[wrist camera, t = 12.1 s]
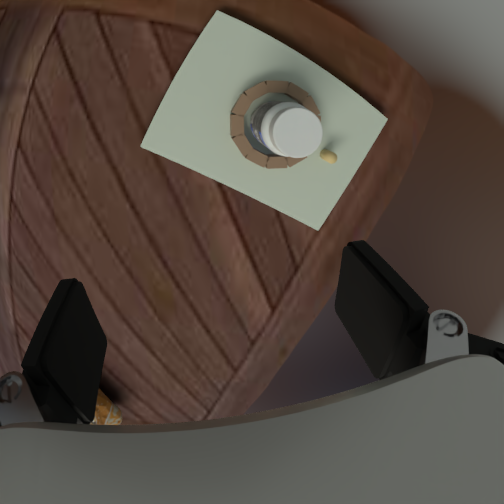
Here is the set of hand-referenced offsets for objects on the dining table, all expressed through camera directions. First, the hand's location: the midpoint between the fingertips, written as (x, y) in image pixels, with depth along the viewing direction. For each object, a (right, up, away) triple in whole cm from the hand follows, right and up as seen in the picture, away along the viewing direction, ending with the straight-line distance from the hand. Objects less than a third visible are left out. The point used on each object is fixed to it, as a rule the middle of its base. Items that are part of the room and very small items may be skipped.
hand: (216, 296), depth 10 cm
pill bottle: (+3, +14, +18) cm, 23 cm away
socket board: (+3, +15, +19) cm, 24 cm away
